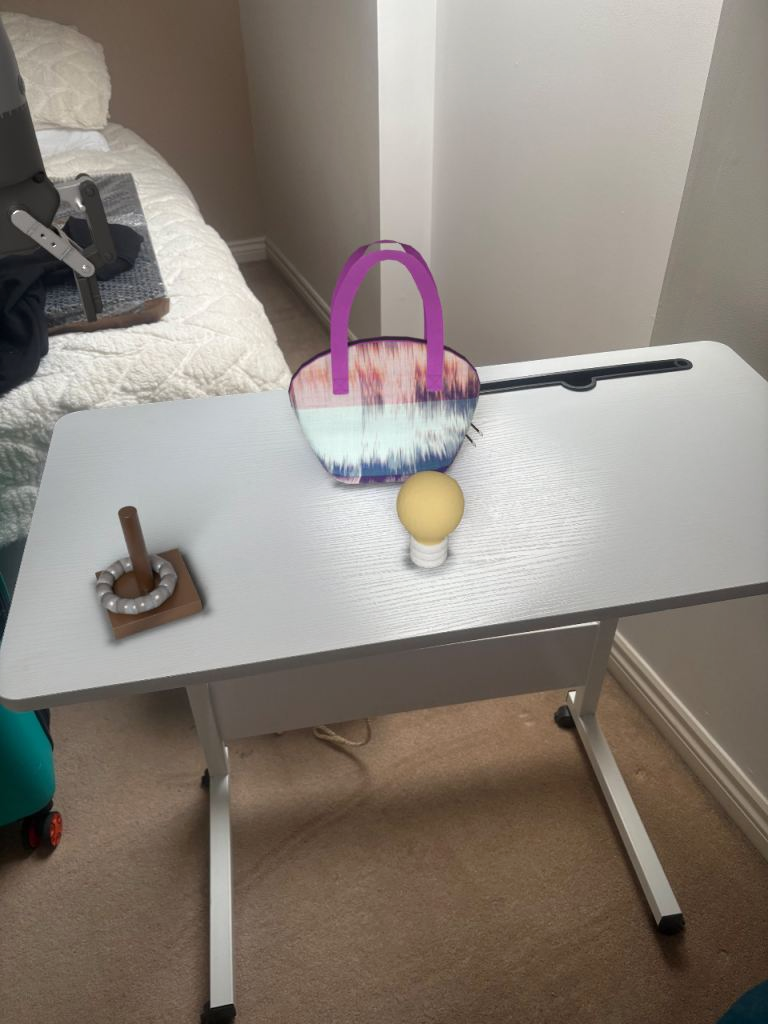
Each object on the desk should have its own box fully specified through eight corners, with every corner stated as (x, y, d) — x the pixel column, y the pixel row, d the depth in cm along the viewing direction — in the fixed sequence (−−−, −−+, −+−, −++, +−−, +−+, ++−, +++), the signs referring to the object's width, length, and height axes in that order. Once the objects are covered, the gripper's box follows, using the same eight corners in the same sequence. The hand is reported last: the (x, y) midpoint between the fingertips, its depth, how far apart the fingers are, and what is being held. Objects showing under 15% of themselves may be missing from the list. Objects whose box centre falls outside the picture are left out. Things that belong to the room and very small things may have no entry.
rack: (116, 640, 74) (88, 553, 67) (98, 583, 79) (71, 498, 73) (203, 611, 77) (185, 525, 70) (179, 558, 82) (161, 473, 75)
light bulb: (387, 574, 80) (387, 493, 74) (405, 532, 85) (407, 453, 79) (452, 587, 79) (457, 506, 72) (466, 544, 84) (473, 464, 77)
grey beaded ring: (106, 627, 73) (103, 616, 72) (91, 576, 78) (87, 565, 77) (186, 601, 76) (184, 590, 75) (166, 553, 81) (163, 542, 80)
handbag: (474, 430, 99) (490, 223, 83) (487, 480, 92) (508, 263, 76) (295, 437, 98) (277, 229, 82) (293, 488, 91) (273, 270, 75)
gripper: (68, 75, 58) (118, 293, 68) (-160, 99, 53) (-70, 328, 64) (87, 99, 53) (138, 331, 63) (-164, 128, 48) (-65, 373, 58)
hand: (33, 330), depth 63 cm, fingers open, 8 cm apart
